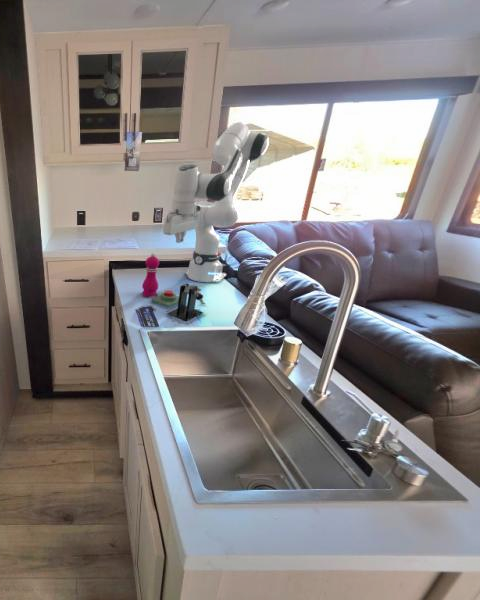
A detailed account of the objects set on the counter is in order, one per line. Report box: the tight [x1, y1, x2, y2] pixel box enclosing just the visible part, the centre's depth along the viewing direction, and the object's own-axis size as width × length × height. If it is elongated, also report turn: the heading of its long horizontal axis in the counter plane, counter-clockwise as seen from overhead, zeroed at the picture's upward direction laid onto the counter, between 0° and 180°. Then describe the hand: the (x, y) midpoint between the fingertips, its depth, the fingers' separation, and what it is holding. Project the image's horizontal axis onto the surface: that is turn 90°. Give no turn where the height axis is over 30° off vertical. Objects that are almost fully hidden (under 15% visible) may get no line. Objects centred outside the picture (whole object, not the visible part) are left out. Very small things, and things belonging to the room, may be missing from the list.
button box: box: [151, 291, 179, 309], centre depth 138 cm, size 11×9×4 cm
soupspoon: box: [189, 284, 206, 305], centre depth 145 cm, size 22×3×7 cm
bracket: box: [166, 283, 204, 323], centre depth 125 cm, size 12×9×13 cm
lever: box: [184, 286, 204, 301], centre depth 127 cm, size 13×3×3 cm, turn 131°
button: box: [164, 289, 174, 297], centre depth 137 cm, size 4×4×2 cm
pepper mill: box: [141, 253, 160, 298], centre depth 143 cm, size 7×7×20 cm
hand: (179, 242), depth 133 cm, fingers closed
